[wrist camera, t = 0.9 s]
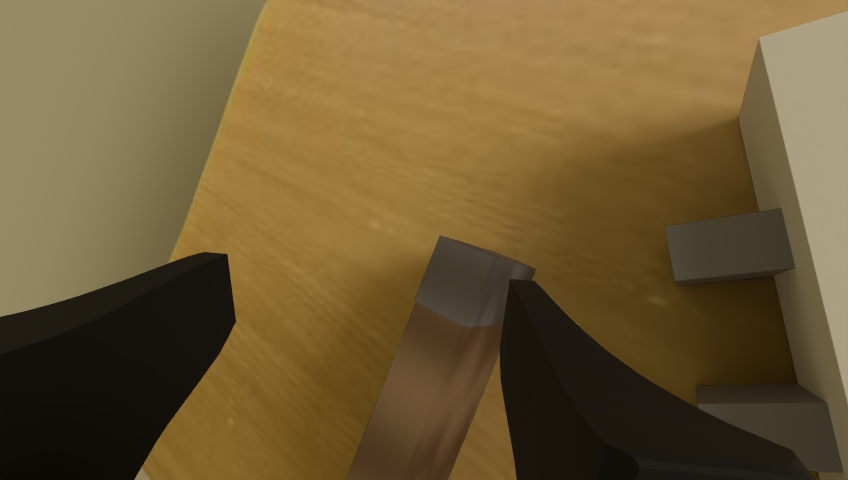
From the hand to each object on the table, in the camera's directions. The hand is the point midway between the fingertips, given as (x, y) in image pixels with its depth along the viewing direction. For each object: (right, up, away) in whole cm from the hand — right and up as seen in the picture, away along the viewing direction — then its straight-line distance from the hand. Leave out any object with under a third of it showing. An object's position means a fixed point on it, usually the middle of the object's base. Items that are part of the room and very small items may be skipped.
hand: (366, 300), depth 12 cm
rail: (+3, -7, +13) cm, 15 cm away
